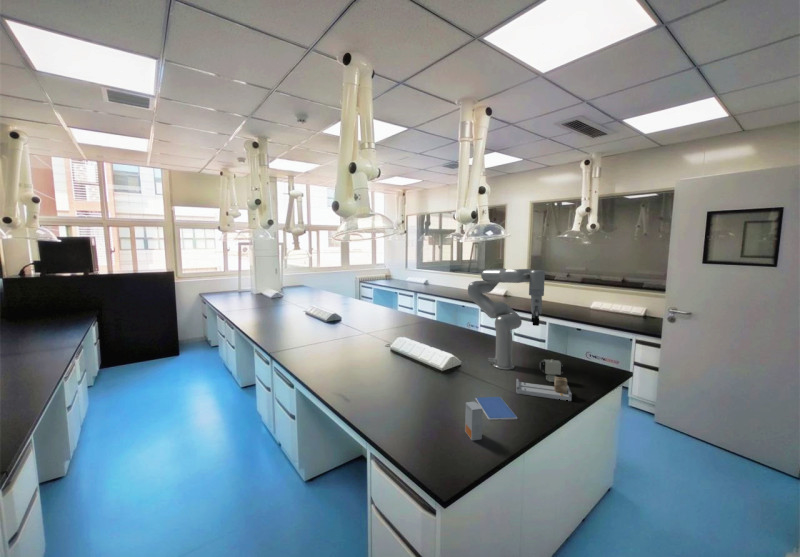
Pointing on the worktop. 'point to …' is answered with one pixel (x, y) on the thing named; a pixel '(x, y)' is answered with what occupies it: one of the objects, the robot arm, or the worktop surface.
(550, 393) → the fader track
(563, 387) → the fader tab
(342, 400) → the worktop surface
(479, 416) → the skincare box
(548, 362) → the pneumatic valve
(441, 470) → the worktop surface
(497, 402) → the tablet computer
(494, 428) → the worktop surface
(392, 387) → the worktop surface
